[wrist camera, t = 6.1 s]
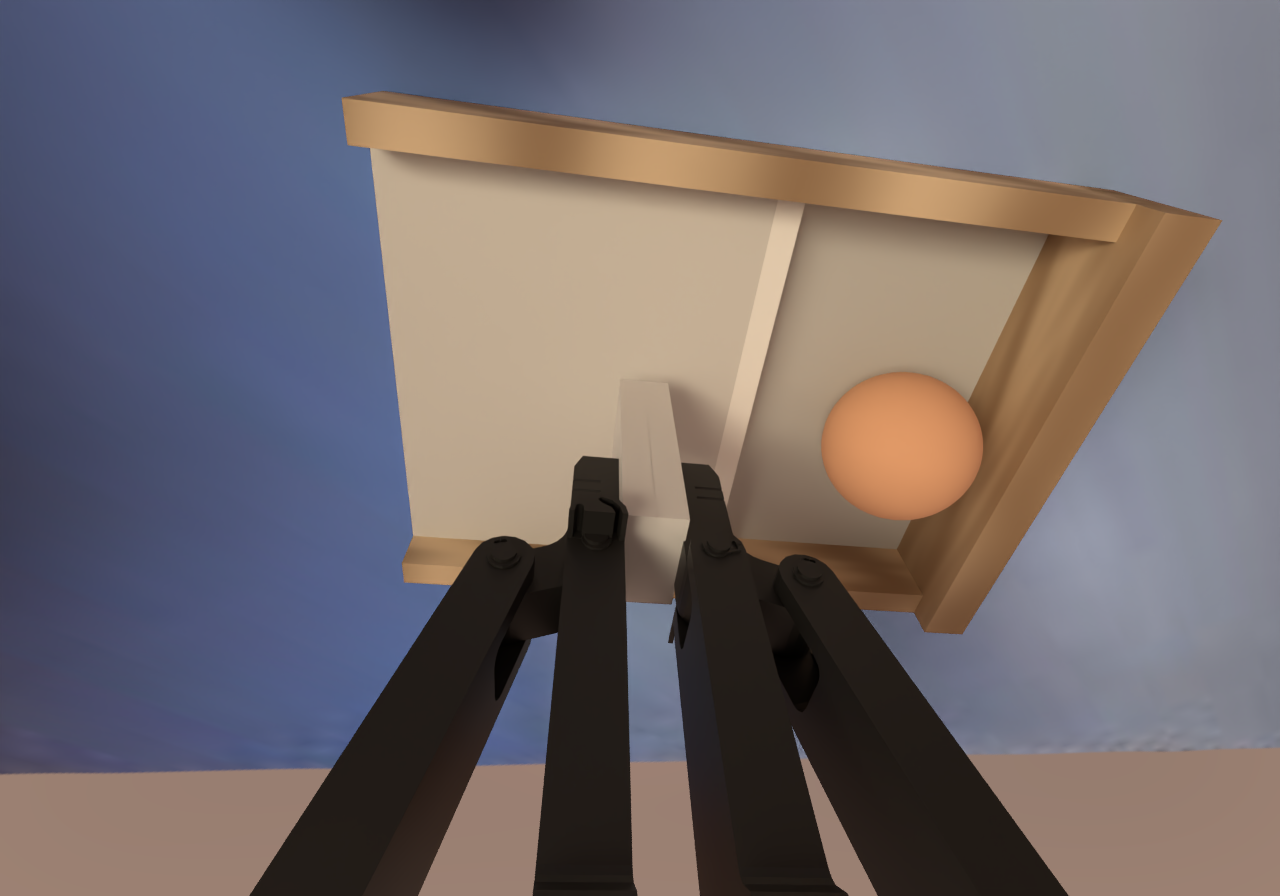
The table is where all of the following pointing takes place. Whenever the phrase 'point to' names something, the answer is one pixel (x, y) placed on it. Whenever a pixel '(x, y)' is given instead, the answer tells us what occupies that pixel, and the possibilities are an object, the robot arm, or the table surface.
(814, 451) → the mat
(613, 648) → the robot arm
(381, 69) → the table surface
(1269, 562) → the table surface
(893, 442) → the ball
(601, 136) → the lane frame
